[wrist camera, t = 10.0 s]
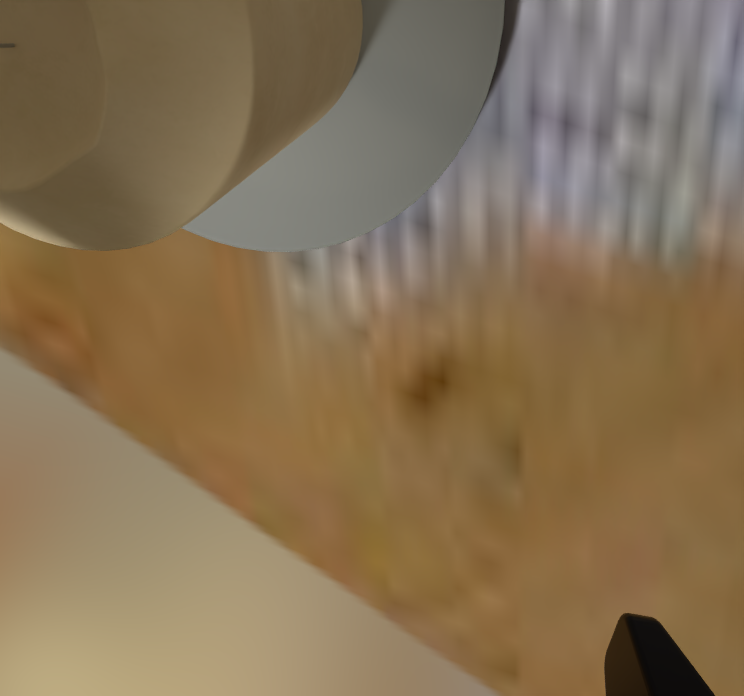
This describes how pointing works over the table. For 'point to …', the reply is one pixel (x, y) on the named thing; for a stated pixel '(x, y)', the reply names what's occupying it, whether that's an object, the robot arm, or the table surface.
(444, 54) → the slate plate
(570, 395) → the table surface
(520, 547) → the table surface
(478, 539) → the table surface
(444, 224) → the table surface
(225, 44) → the candle
